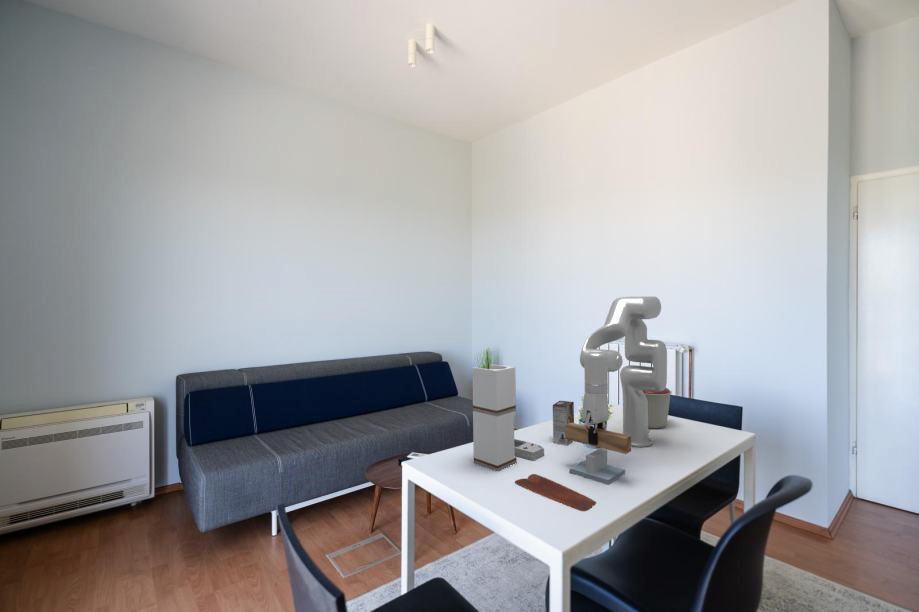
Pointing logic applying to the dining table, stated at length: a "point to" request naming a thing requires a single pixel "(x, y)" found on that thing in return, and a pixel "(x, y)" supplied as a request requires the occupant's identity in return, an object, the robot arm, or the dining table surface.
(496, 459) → the tall square planter
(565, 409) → the coffee box
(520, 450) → the handheld gaming device
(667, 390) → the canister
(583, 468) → the ridge stand
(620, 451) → the walnut batten
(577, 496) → the wooden tablet
